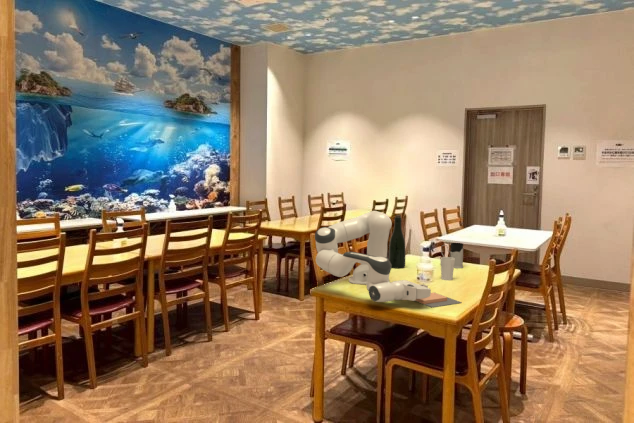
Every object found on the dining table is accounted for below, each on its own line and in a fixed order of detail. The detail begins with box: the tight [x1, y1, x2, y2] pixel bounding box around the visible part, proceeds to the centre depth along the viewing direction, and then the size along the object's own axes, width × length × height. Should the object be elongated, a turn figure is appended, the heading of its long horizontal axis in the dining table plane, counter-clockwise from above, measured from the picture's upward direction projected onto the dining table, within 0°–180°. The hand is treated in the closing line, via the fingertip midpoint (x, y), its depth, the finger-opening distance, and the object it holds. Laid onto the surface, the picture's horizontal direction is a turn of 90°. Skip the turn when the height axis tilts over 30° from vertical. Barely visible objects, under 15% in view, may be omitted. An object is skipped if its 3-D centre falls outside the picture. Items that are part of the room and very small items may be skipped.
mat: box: [415, 292, 462, 308], centre depth 242 cm, size 18×20×1 cm
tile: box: [414, 292, 447, 305], centre depth 241 cm, size 2×10×14 cm
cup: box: [440, 256, 455, 281], centre depth 286 cm, size 8×8×12 cm
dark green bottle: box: [388, 214, 406, 269], centre depth 317 cm, size 10×10×33 cm
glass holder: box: [440, 242, 464, 269], centre depth 320 cm, size 9×14×15 cm, turn 69°
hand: (425, 286), depth 239 cm, fingers closed
